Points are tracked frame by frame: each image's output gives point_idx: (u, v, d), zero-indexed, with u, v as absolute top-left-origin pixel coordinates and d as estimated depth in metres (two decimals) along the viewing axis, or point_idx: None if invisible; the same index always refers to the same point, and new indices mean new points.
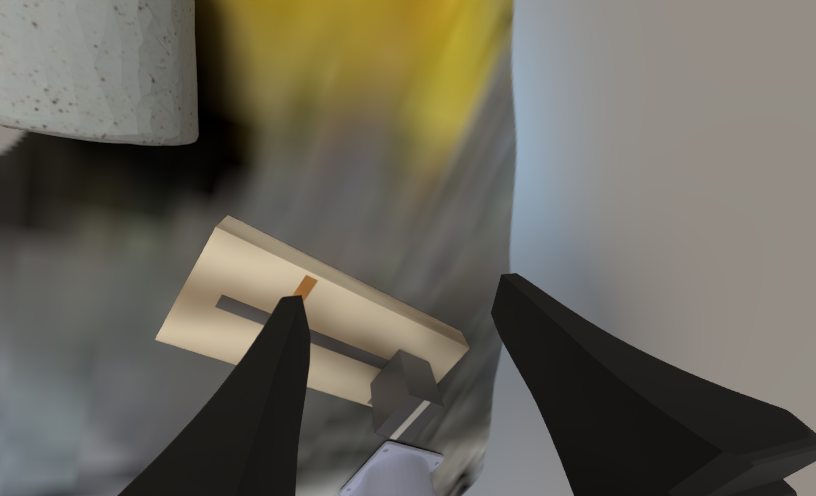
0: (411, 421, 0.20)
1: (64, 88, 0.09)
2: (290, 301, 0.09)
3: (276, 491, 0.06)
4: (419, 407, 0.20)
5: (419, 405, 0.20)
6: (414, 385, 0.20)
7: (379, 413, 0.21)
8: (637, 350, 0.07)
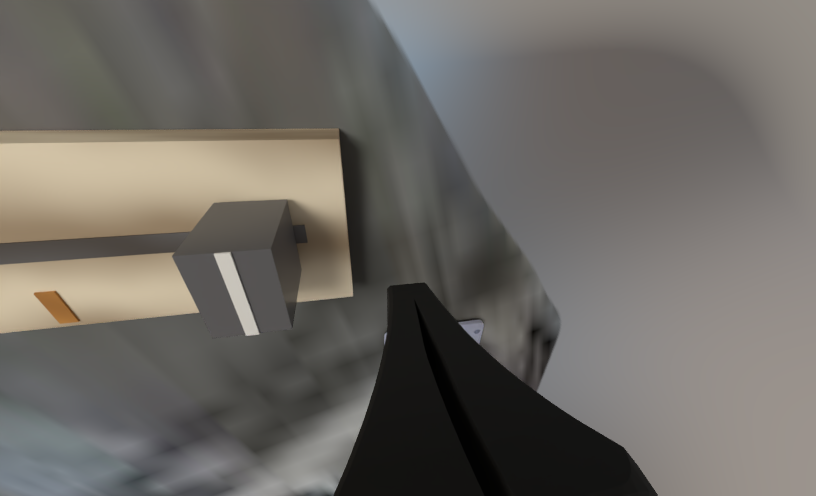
0: (243, 297, 0.11)
1: None
2: (401, 289, 0.10)
3: None
4: (223, 269, 0.10)
5: (222, 266, 0.10)
6: (204, 239, 0.10)
7: None
8: (506, 372, 0.07)
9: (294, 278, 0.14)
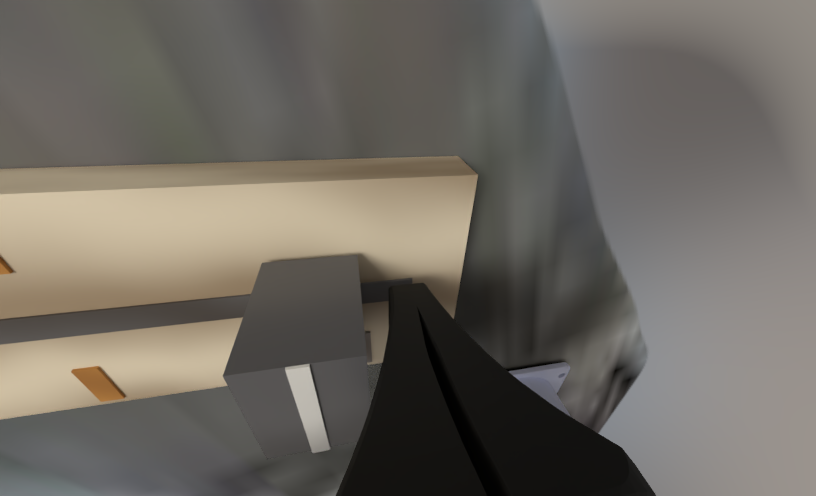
0: (316, 414, 0.08)
1: None
2: (402, 289, 0.10)
3: None
4: (294, 385, 0.07)
5: (293, 381, 0.07)
6: (265, 336, 0.07)
7: None
8: (505, 372, 0.07)
9: None
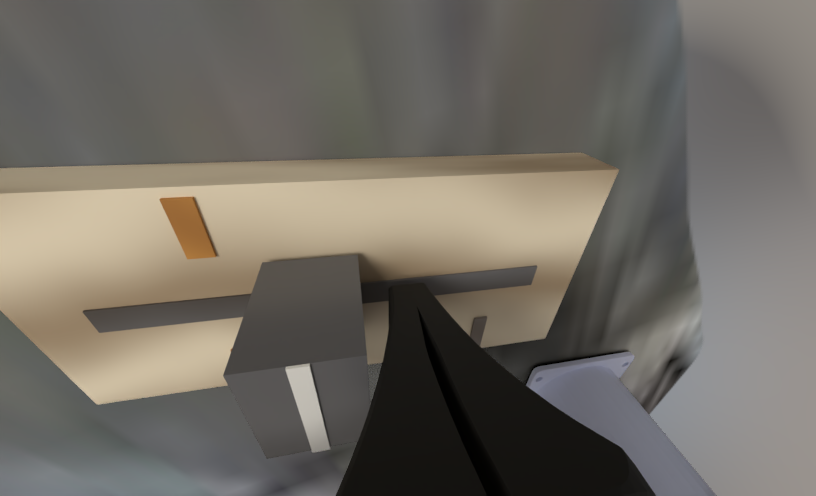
0: (316, 414, 0.08)
1: None
2: (402, 289, 0.10)
3: None
4: (295, 384, 0.07)
5: (294, 380, 0.07)
6: (265, 335, 0.07)
7: None
8: (505, 372, 0.07)
9: None
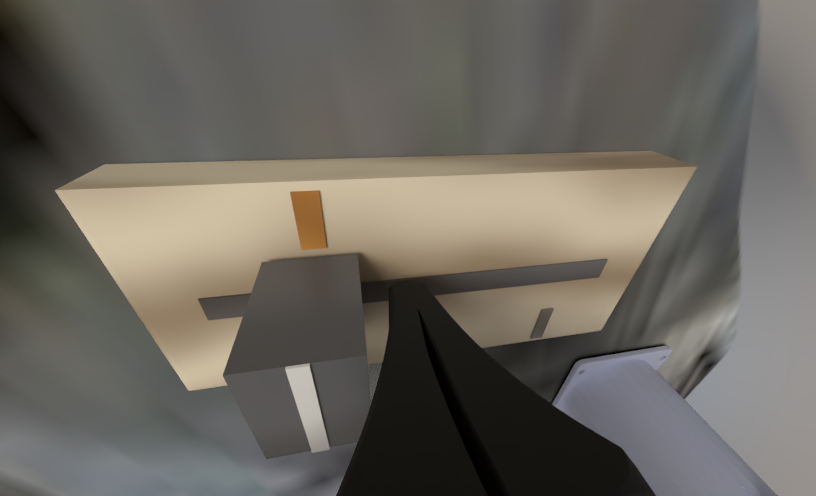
0: (316, 414, 0.08)
1: None
2: (402, 289, 0.10)
3: None
4: (294, 384, 0.07)
5: (294, 380, 0.07)
6: (265, 335, 0.07)
7: None
8: (505, 372, 0.07)
9: None
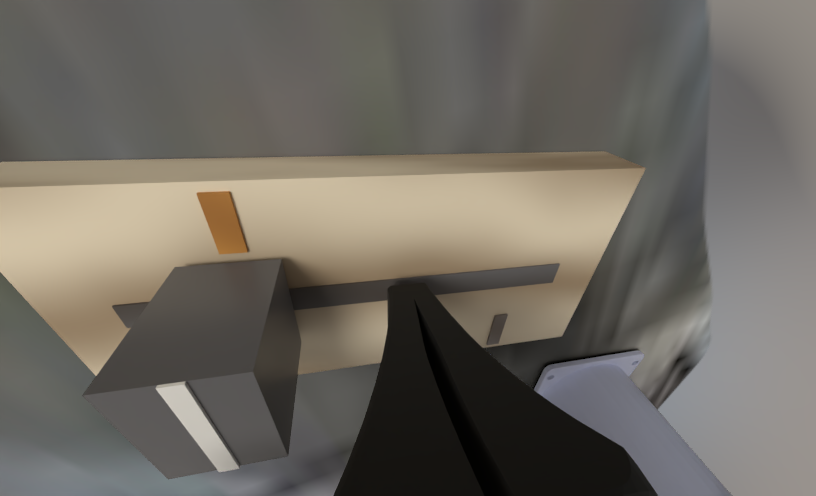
0: (211, 433, 0.07)
1: None
2: (401, 289, 0.10)
3: None
4: (175, 403, 0.06)
5: (173, 398, 0.06)
6: (147, 349, 0.07)
7: None
8: (506, 372, 0.07)
9: (291, 368, 0.10)
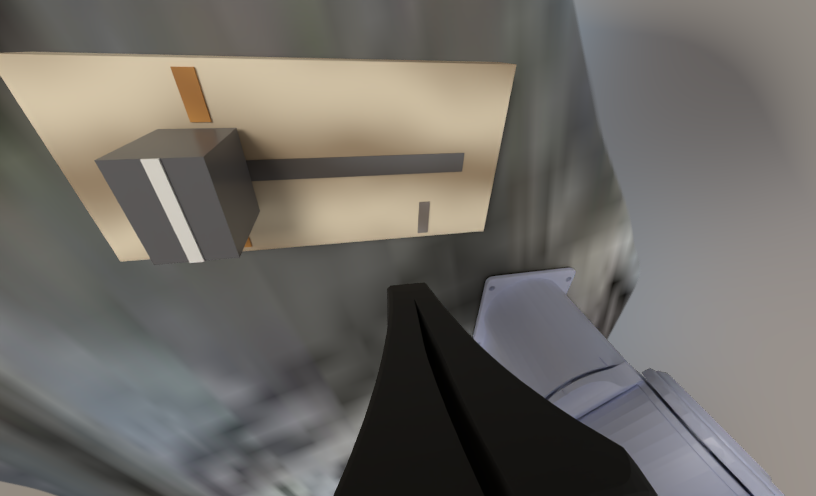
0: (180, 216, 0.10)
1: None
2: (401, 289, 0.10)
3: None
4: (154, 180, 0.10)
5: (152, 176, 0.10)
6: (135, 150, 0.10)
7: None
8: (506, 372, 0.07)
9: (246, 211, 0.13)
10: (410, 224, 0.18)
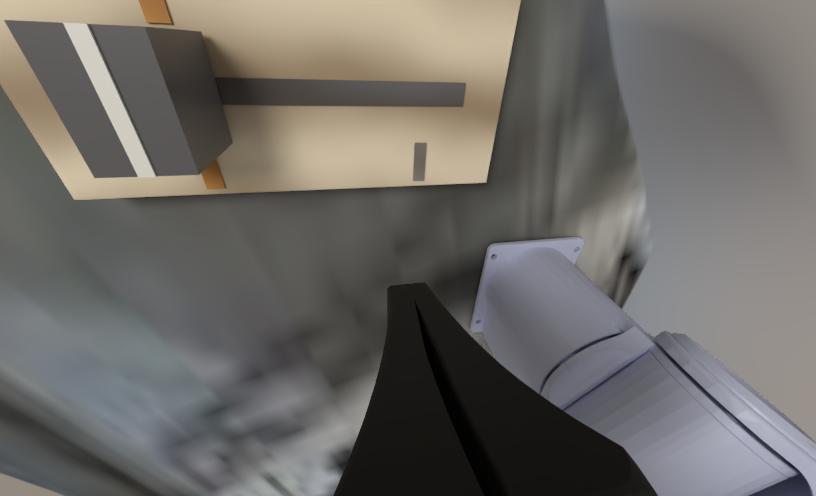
0: (121, 110, 0.09)
1: None
2: (401, 289, 0.10)
3: None
4: (84, 56, 0.08)
5: (82, 50, 0.08)
6: None
7: None
8: (506, 372, 0.07)
9: (212, 130, 0.11)
10: (404, 170, 0.16)
